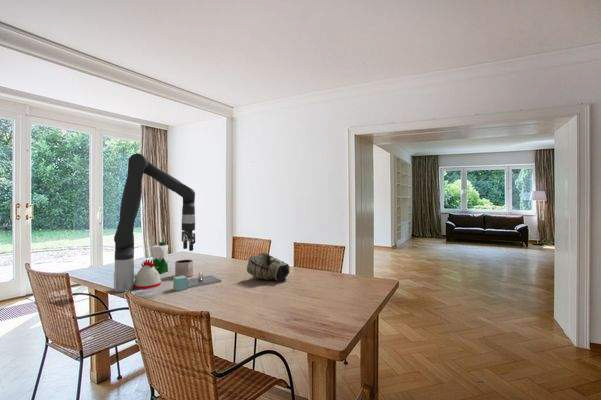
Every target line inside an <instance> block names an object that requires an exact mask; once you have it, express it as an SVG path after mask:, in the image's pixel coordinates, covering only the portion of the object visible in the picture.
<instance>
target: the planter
mask: <svg viewBox="0 0 601 400" xmlns="http://www.w3.org/2000/svg"><path fill="white" fill-rule="evenodd" d="M174 267H175V268H174V270H175V271H174V277H177V276H185V277H187V278H190V277H192V276H193V275H194V260H192V259H180V260H176V261H175V263H174Z"/></svg>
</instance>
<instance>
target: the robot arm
mask: <svg viewBox="0 0 601 400" xmlns="http://www.w3.org/2000/svg"><path fill="white" fill-rule="evenodd" d="M127 162H128V163H127V175H126V181H125V184H124V188H123V191H122V195H121V201H120V207H119V221H118V225H117V227H116V228H117V229H116V231H115V233H114V236H113V241H114V273H113V290H114V291H113V292H115V293H124V291H125V290H130V291H132V290H134V289H135V288H134V281H135V272H134V271H135V263H134V262H135V260H134V259H135V234H134V229H135V222H136V218H137V216H138V213H139V211H140V210H139V209H140V205H141V200H142V196H143V193H142V191H143V190H142V189H143V185H142V182H143V181H142V180H143V176H144V174H145V175H146V176H148V177H150V178H151V179H154V180H155V181H157V182H158V183H159V184H161V185H162V186H164V187H165V188H166V189H169V190H170V191H172V192H174V193H175V194H177V195H179V196H180V197H181V198H182V208H181V242H182V243H183V244H182V246H183V247H182V248H183V249H184V250H187V249H188V251H189V252H193V251H194V245H195V244H196V233H195V232H193V231H195V230H196V210H195V209H196V206H195V204H196V203H195V200H196V191H195V190H194V189H193V188H192V187H189V186H188V185H186V184H185V183H183V182H181V181H180V180H179V179H177V178H176V177H174V176H172V175H171V174H169V173H167V172H165V171H163V170H161V169H160V168H158V167H157V166H155V165H154V164H153V163H151V162H150V161H149V159H148V158H147V157H146V156H144V155H143V154H142V153H133V154H131V155H130V157H129V158H128V161H127Z"/></svg>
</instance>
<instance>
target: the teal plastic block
mask: <svg viewBox="0 0 601 400" xmlns="http://www.w3.org/2000/svg"><path fill="white" fill-rule="evenodd" d="M187 279H188V277H185V276H177V277H176V276H173V279H172V280H173V283H172V284H173V285H172V286H173V289H172V290H174V291H176V292H180V291H185V290H188V288H187Z"/></svg>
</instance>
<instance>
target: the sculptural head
mask: <svg viewBox="0 0 601 400" xmlns="http://www.w3.org/2000/svg"><path fill="white" fill-rule="evenodd" d="M246 272H247V273H249V275H252V276H254V278H257V279H258V280H265V281H266V280H267V281H268V280H275V281H279V282H280V281H284V280H285V279H286V278H287V277H288V275H289V274H290V265H289V264H288V263H285V261H283V260H280V259H278V258H277V257H275V256H272V255H270V253H268V252H259V253H258V254H256V255H251V256H250V257H249V259H248V262H247V265H246Z"/></svg>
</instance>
